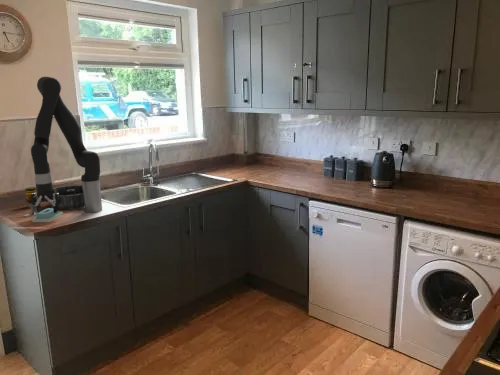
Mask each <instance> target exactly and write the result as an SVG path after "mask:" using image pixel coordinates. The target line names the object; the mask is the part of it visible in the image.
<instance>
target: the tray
mask: <svg viewBox="0 0 500 375" xmlns="http://www.w3.org/2000/svg"><path fill="white" fill-rule="evenodd" d="M63 215H64V212H63V211H58V214H57V215H55V216H53V217H51V218H49V219H36V217H34V218H32V219H31V221H32V223H51V222H52V221H54V220H56V219H58V218H59V217H61V216H63Z"/></svg>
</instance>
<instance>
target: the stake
mask: <svg viewBox="0 0 500 375" xmlns="http://www.w3.org/2000/svg"><path fill="white" fill-rule="evenodd" d="M28 206H31V208H30V211H29V212H28V213H26V214H24V215H22V217H36V214H37V213H38V212H37V211H36V207H35V205H32V204H28Z"/></svg>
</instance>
